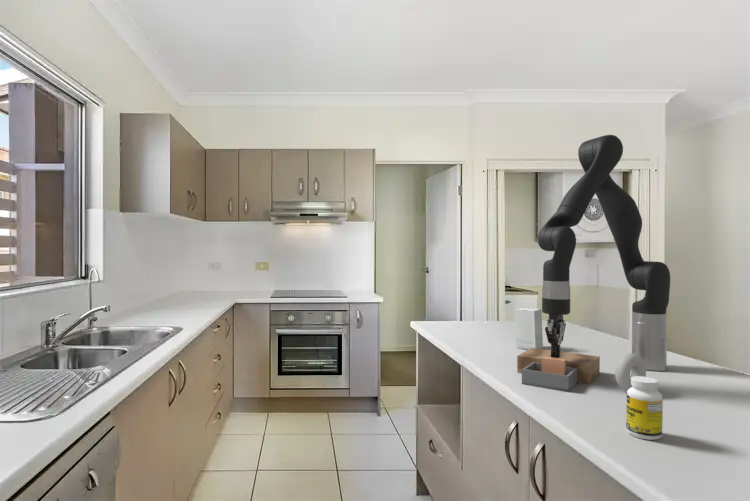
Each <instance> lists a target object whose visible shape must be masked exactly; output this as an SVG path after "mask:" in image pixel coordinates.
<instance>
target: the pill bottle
mask: <svg viewBox="0 0 750 501" xmlns="http://www.w3.org/2000/svg"><path fill="white" fill-rule="evenodd" d="M631 385H632V387H631V388H629V389H628V391H627V392H626V408H625V409H626V411H625V412H626V413H625V414H626V422H625V423H626V425H625V426H626V427H625V428H626V429H625V430H626V432H627V433H628V434H629V435H631V436H632V437H634V438H638V439H641V440H647V441H648V440H649V441H656V440H657V441H658V440H660V439H662V436H663V414H664V413H663V409H664V408H663V405H664V404H663V402H664V401H663V400H664V399H663V395H662V393H661V392H660V391H659V390H658V389H659V380H657V379H655V378H652V377H648V376H646V377H643V376H634V377H632V378H631Z"/></svg>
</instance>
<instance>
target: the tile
mask: <svg viewBox="0 0 750 501" xmlns="http://www.w3.org/2000/svg"><path fill="white" fill-rule="evenodd" d="M542 372H546V373H553V374H559V375H565V376H566V359H560V358H553V357H545V356H544V357H542Z"/></svg>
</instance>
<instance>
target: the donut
mask: <svg viewBox="0 0 750 501" xmlns="http://www.w3.org/2000/svg"><path fill="white" fill-rule="evenodd" d="M614 372H615V373H614V375H615V376H614V377H615V380H616V383H617V386H618V387H619V389H621V390H623V391H624V392H626V393H627V391H628V389H629V388H631V387H632V385H631V378H632V377H634V376H643V377H647V376H646V375H647V370H646V366H645V363H644V361H643V359H642V358H641V357H640V356H638V355H637V354H632V352H631V353H627V354H624V355H623V356H621V357H620V358H619V359H618V361H617V364H616V367H615V371H614Z"/></svg>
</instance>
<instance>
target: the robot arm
mask: <svg viewBox="0 0 750 501" xmlns="http://www.w3.org/2000/svg"><path fill="white" fill-rule="evenodd" d="M623 152H624V145H623V142H622V141H621V139H620V138H619V137H618V136H616V135H615V134H606V135H601V136H598V137H596V138H595V137H594V138H591V139H588V140H585V141H584V142H582V143H580V146H579V147H578V152H577V155H578V160H579V163H580V165H581V167H582V169H583V171H584V174H583V175H582V176H581V177H580V178H579V179H578V180H577V181H576V182H575V183H574V184H572V186H571V188H570V189H569V190H567V192H566V193H565V195H564V196H563V198H562V200H561V201H560V204H559V206H558V208H557V210H556V211H555V212H554V214H553V215H552V216H550V218H549V219H548V220H547V221H546V222H545V223H544V225H543V226H542V228H541V229H540V230H539V232H538V235H537V243H538V246H539V248H540V249H541V250H543V251H546V252H554V253H553V256H552V258H550V259H547V260H546V261H544V262H543V265H542V270H543V271H542V278H543V279H542V288H541V312H542V313H543V314H546V315H547V314H548V319H547V320H546V326H545V328H544V331H545V335H546V339H547V342H548V344H549V345H550V350H551V357H553V358H559V357H560V351H561V345H562V342H563V341H564V337H565V336H564V335H565V331H566V326H567V323H566V320H564V316H566V315H567V316H568V315H569V314H571V285H570V267H571V264H572V260H573V256H574V254H575V250H576V244H577V238H576V234H575V231H574V230H573V229H572V227H575V226H578V224H579V223H580V222H581V220H582V219H583V217H584V215H585V213H586V211H587V208H588V207H589V205H590V203H591V202H592V199H593V198H594V196H595V195H596V197H597V200H598V202H599V204H600V207H601V209H602V212H603V215H604V217H605V220H606V223H607V226H608V228H609V230H610V232H611V235H612V237H613V240H614V242H615V245H616V248H617V251H618V254H619V257H620V262H621V265H622V268H623V272H624V276H625V278H626V281H627V283H628V284H629V286H630V287H631V288H632V289H634V290H639V291H645V293H644V297H643V298H642V299H640V300H638V301H634V302H633V303H632V305H631V354H637V355H638V356H640V357H641V358H642V359H643V361H644V363H645V366H646V371H656V372H657V371H660V372H666V369H667V366H668V365H667V357H668V351H667V350H668V347H667V345H668V344H667V342H668V340H667V339H668V338H667V308H668V307H669V302H670V291H671V290H670V288H671V273H670V269H669V267H668V266H667V264H666V263H665V262H663V261H653V260H651V261H649V260H648V261H646V260H645V259H644V258H643V257H642V255H641V251H640V247H639V240H640V235H641V232H642V228H643V219H642V216H641V213H640V210H639V208H638V206H637V203H636V201H635V199H634V198H633V197H632V196H631V195H630V194H629V193H628V192H627V191H625V190H624V189H623V188H622V187H621V186H620V185H619V184H618V183H616V181H614V180H613V178H612V177H611V173H612V171H613V170H614V169H615V168H616V167H617V165H618V163H619V162H620V160H621V159H622V156H623Z"/></svg>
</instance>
